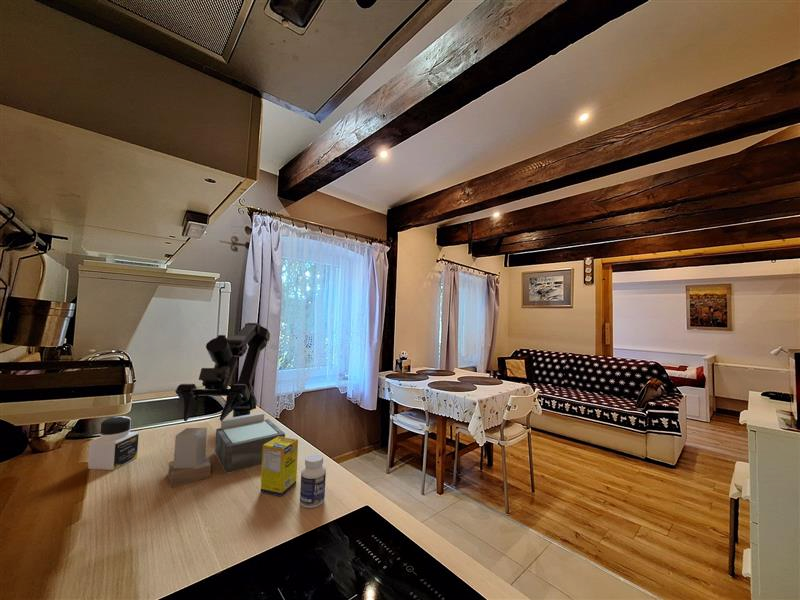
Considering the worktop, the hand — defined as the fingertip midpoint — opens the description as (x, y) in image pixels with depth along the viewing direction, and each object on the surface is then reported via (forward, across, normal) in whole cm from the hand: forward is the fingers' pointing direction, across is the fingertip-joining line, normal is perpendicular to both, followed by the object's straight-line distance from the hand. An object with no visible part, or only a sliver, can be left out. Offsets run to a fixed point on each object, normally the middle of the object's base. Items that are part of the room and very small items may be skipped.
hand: (202, 420), depth 85 cm
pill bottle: (+22, +33, -5) cm, 40 cm away
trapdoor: (0, +10, +9) cm, 13 cm away
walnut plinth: (+12, 0, +4) cm, 13 cm away
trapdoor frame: (+5, +11, +12) cm, 17 cm away
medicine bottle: (+7, -23, +10) cm, 26 cm away
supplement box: (+18, +24, 0) cm, 30 cm away
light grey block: (+10, 0, +2) cm, 11 cm away
